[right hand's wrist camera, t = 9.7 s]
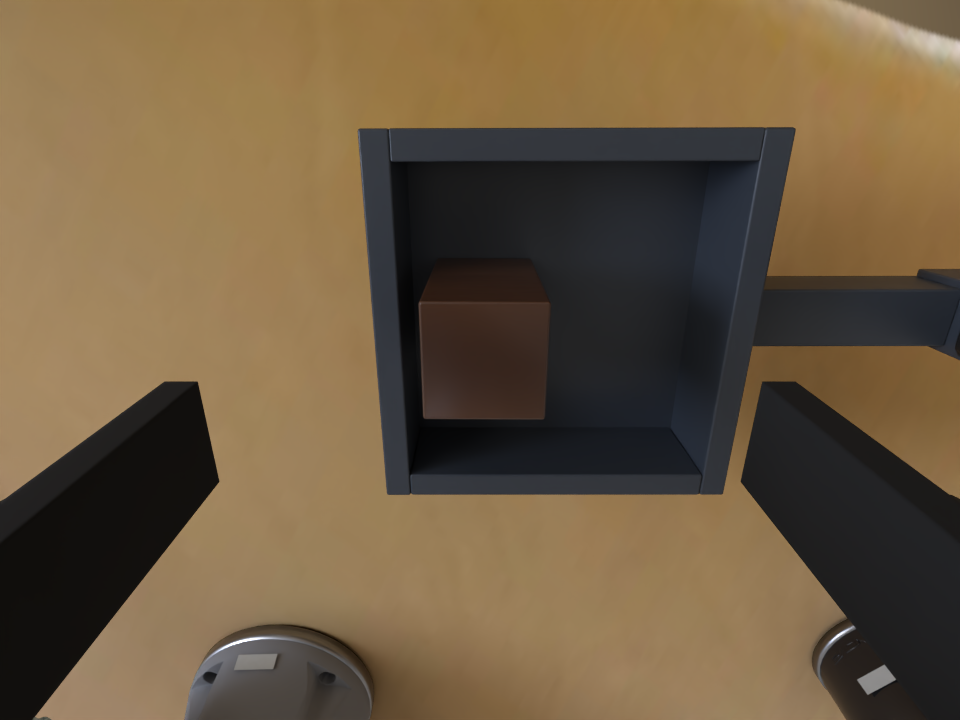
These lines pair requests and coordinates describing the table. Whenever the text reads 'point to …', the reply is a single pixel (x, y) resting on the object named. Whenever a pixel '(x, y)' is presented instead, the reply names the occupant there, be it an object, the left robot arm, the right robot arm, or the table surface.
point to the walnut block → (484, 340)
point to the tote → (609, 298)
